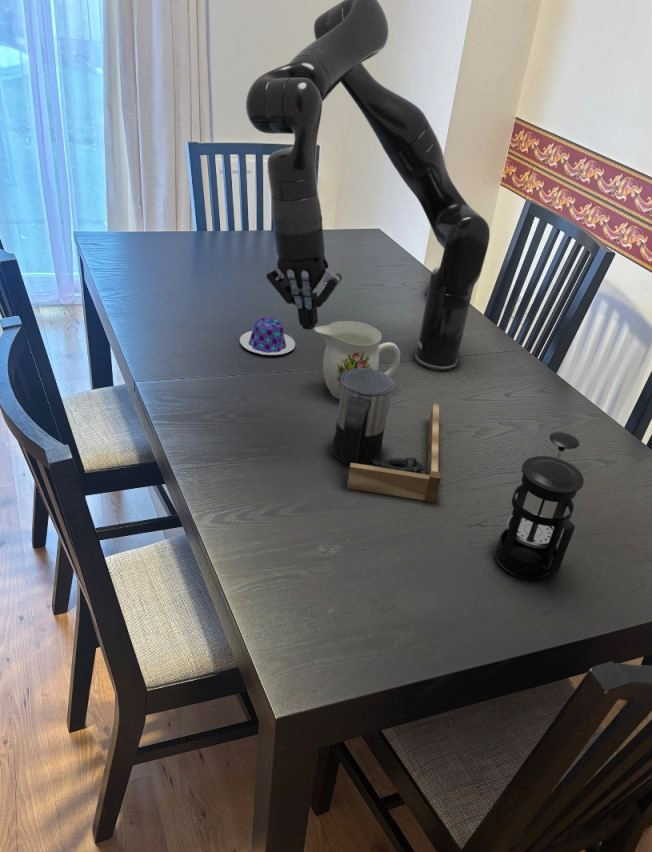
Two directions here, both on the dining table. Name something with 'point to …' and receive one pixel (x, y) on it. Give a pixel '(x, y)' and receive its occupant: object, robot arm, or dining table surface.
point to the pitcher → (352, 351)
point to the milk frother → (365, 420)
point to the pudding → (267, 338)
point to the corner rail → (403, 473)
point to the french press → (535, 530)
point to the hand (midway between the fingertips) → (309, 327)
